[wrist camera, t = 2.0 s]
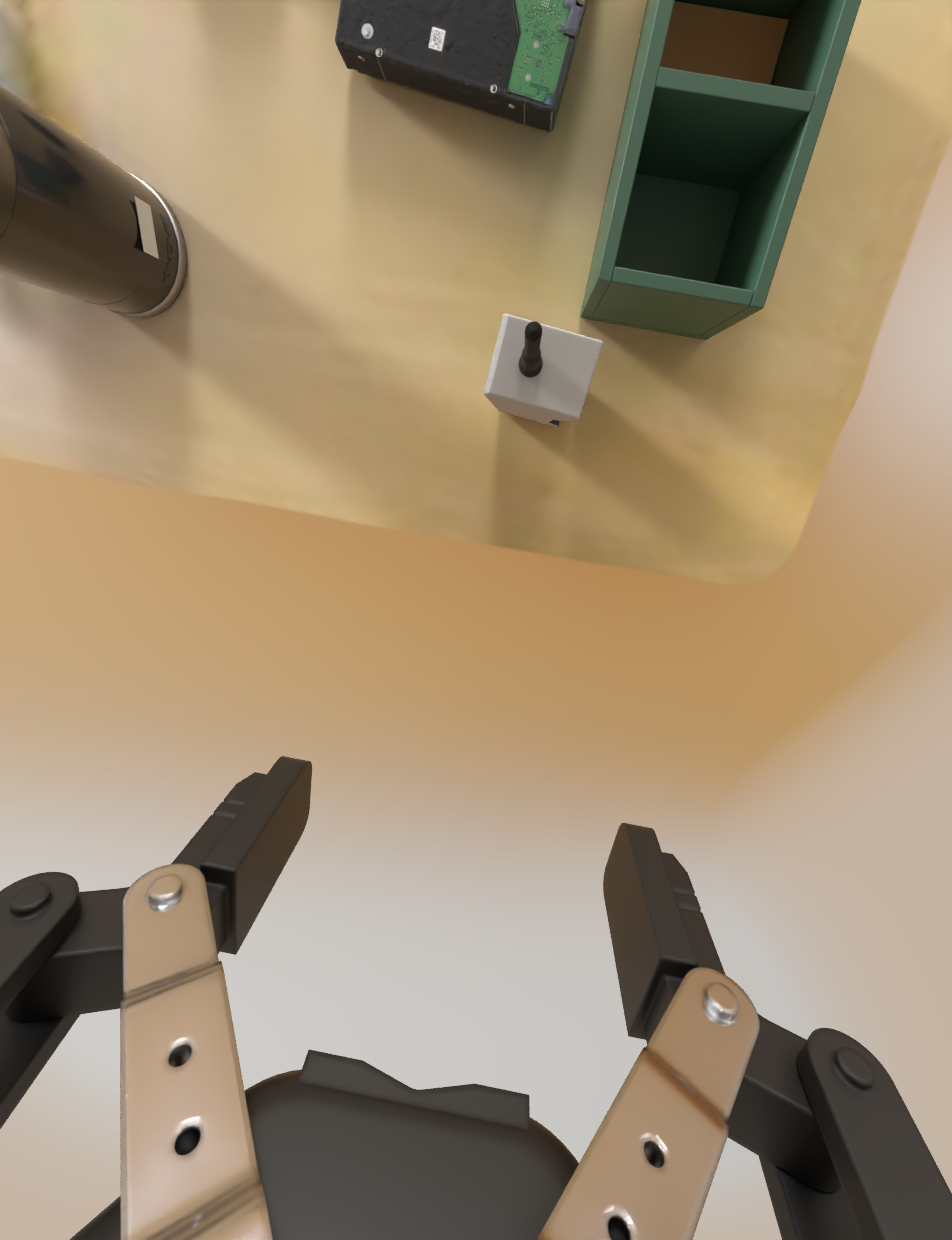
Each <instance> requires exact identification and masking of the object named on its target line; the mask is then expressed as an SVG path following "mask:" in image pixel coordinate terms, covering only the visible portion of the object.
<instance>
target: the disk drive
mask: <svg viewBox="0 0 952 1240" xmlns="http://www.w3.org/2000/svg"><path fill="white" fill-rule="evenodd" d="M587 1H588V0H341V2H340V9H339V17H338V24H337V30H336V37H335V43H336V45H337V47H338V50H339V52H340V54H341V56H342V58H343V60H344V62H345V65H346V67H347V68H348V69H354V70H357V71H358V72H359V73H362V74H366V75H368V76H372V77H375V78H378V79H381V80H384V81H388V82H391V83H394V84H397V85H400V86H403V87H406V88H410V89H413V90H417V91H419V92H423V93H425V94H429V95H432V96H435V97H439V98H442V99H445V100H449V101H454V102H456V103H460V104H462V105H464V106H467V107H470V108H473V109H476V110H480V111H483V112H486V113H489V114H492V115H495V116H499V117H502V118H505V119H508V120H511V121H514V122H517V123H521V124H524V125H527V126H531V127H536V128H538V129H543V130H546V131H548V132H551V131H552V130H553V128H554V124H555V120H556V116H557V112H558V108H559V104H560V101H561V97H562V94H563V90H564V86H565V83H566V79H567V75H568V72H569V68H570V64H571V61H572V57H573V53H574V49H575V45H576V42H577V38H578V34H579V31H580V27H581V24H582V20H583V16H584V12H585V9H586V5H587Z"/></svg>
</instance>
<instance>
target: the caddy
mask: <svg viewBox="0 0 952 1240" xmlns="http://www.w3.org/2000/svg"><path fill="white" fill-rule="evenodd" d="M860 3H861V0H648V1H647V5H646V10H645V15H644V20H643V24H642V29H641V34H640V38H639V43H638V48H637V52H636V57H635V62H634V67H633V71H632V76H631V81H630V85H629V90H628V95H627V99H626V104H625V109H624V114H623V118H622V123H621V128H620V132H619V137H618V142H617V146H616V151H615V156H614V161H613V165H612V170H611V175H610V179H609V184H608V189H607V193H606V198H605V203H604V208H603V212H602V217H601V222H600V226H599V231H598V236H597V240H596V245H595V250H594V254H593V259H592V264H591V269H590V273H589V278H588V283H587V287H586V292H585V297H584V301H583V306H582V311H581V316H580V317H581V318H586V319H592V320H597V321H603V322H609V323H614V324H620V325H626V326H631V327H637V328H642V329H648V330H654V331H659V332H665V333H670V334H676V335H682V336H687V337H693V338H699V339H704V340H707V339H708V338H710V337H712V336H714V335H716V334H717V333H719V332H721V331H723V330H725V329H726V328H728V327H730V326H732V325H734V324H736V323H737V322H739V321H741V320H743V319H745V318H746V317H748V316H750V315H752V314H754V313H755V312H757V311H759V310H761V309H763V307H764V304H765V301H766V298H767V295H768V292H769V289H770V285H771V282H772V279H773V276H774V273H775V270H776V267H777V263H778V260H779V257H780V254H781V251H782V248H783V245H784V241H785V238H786V235H787V232H788V229H789V226H790V223H791V219H792V216H793V213H794V210H795V207H796V204H797V201H798V197H799V194H800V191H801V188H802V185H803V182H804V179H805V176H806V172H807V169H808V166H809V163H810V160H811V157H812V154H813V150H814V147H815V144H816V141H817V138H818V135H819V132H820V128H821V125H822V122H823V119H824V116H825V113H826V110H827V106H828V103H829V100H830V97H831V94H832V91H833V88H834V84H835V81H836V78H837V75H838V72H839V69H840V66H841V62H842V59H843V56H844V53H845V50H846V47H847V44H848V41H849V37H850V34H851V31H852V28H853V25H854V22H855V19H856V15H857V12H858V9H859V6H860Z"/></svg>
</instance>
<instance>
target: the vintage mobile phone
mask: <svg viewBox="0 0 952 1240" xmlns="http://www.w3.org/2000/svg"><path fill="white" fill-rule="evenodd" d="M602 345H603V342H602V341H601V340H598V339H594V338H591V337H587V336H584V335H580V334H577V333H573V332H570V331H566V330H562V329H559V328H555V327H552V326H548V325H545V324H541V323H538V322H534V321H531V320H527V319H524V318H520V317H517V316H513V315H510V314H506V313H504V314H503V317H502V321H501V325H500V330H499V334H498V338H497V342H496V346H495V350H494V354H493V358H492V362H491V366H490V370H489V374H488V378H487V382H486V386H485V390H484V395H485V396H486V397H487V398H488V399H489V400H490V401H491V403H492V404H493V405H494V406H495V407H496V408H497V409H498V410H499V411H501V412H504V413H508V414H511V415H515V416H518V417H522V418H526V419H529V420H533V421H536V422H540V423H543V424H547V425H550V426H554V427H559V425H560V421H577V420H578V419H579V418H580V415H581V412H582V409H583V406H584V402H585V399H586V396H587V393H588V390H589V386H590V383H591V380H592V377H593V374H594V371H595V367H596V364H597V361H598V358H599V355H600V351H601V348H602Z"/></svg>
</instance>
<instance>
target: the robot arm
mask: <svg viewBox="0 0 952 1240" xmlns="http://www.w3.org/2000/svg"><path fill="white" fill-rule="evenodd" d="M186 267H187V253H186V245H185V241H184V236H183V233H182V230H181V227H180V225H179V222H178V220H177V218H176V216H175V214H174V213H173V211H172V209H171V208H170V206H169V205H168V203H167V202H166V201H165V200H164V198H163V197H162V196H161V195H160V194H159V193H158V192H157V191H156V190H155V189H153V188H152V187H151V186H150V185H148V184H147V183H145V182H144V181H142V180H141V179H139V178H138V177H136V176H134V175H132V174H130V173H128V172H126V171H125V170H123V169H122V168H120V167H119V166H117V165H116V164H114V163H113V162H112V161H110V160H109V159H108V158H106V157H105V156H103V155H102V154H100V153H99V152H97V151H96V150H94V149H93V148H91V147H90V146H88V145H87V144H85V143H84V142H82V141H81V140H79V139H78V138H76V137H75V136H74V135H72V134H71V133H69V132H68V131H66V130H65V129H63V128H62V127H60V126H59V125H57V124H56V123H54V122H53V121H51V120H50V119H48V118H47V117H45V116H44V115H42V114H41V113H39V112H38V111H37V110H35V109H34V108H32V107H31V106H29V105H28V104H26V103H25V102H23V101H22V100H20V99H19V98H17V97H16V96H14V95H13V94H11V93H10V92H8V91H7V90H5V89H4V88H3V87H1V86H0V274H1V275H4V276H8V277H11V278H14V279H17V280H20V281H23V282H26V283H30V284H33V285H36V286H39V287H42V288H45V289H48V290H51V291H55V292H58V293H61V294H64V295H67V296H70V297H73V298H77V299H80V300H83V301H85V302H88V303H92V304H95V305H98V306H101V307H104V308H107V309H109V310H111V311H113V312H116V313H119V314H122V315H125V316H129V317H135V318H145V317H150V316H154V315H157V314H159V313H161V312H163V311H164V310H165V309H167V308H168V307H169V306H170V305H171V304H172V303H173V302H174V301H175V299H176V298H177V296H178V294H179V293H180V291H181V288H182V286H183V283H184V279H185V275H186ZM311 776H312V764H311V762H310V761H305V760H300V759H294V758H289V757H284V756H282V757H280V758H279V759H278V760H277V762H276V763H275V764H274V766H273V767H272V768H271V770H270V771H269V772H268V774H267V775H266V774H261V773H256V772H255V773H253V774H252V775H250V776H249V777H247V778H245V779H244V780H242V781H241V782H239V783H237V784H236V785H235V787H234V788H233V789H232V790H231V791H230V793H229V794H228V795H227V796H226V798H225V799H224V802H222V803H221V804H220V805H219V806H218V807H217V809H216V810H215V811H214V814H213V815H211V816H210V817H209V818H208V820H207V821H206V822H205V823H204V825H203V826H202V827H201V828H200V830H199V831H198V832H197V833H196V835H195V836H194V837H193V838H192V839H191V841H190V842H189V843H188V844H187V845H186V847H185V848H184V849H183V850H182V852H181V853H180V854H179V855H178V857H177V858H176V859H175V860H174V861H173V863H172V864H170V865H165V866H162V867H159V868H156V869H154V870H151V871H149V872H148V873H146V874H144V875H143V876H141V877H140V878H139V879H138V880H136V881H135V882H134V883H133V884H132V885H131V887H127V888H120V889H110V890H100V891H99V890H98V891H87V892H79V887H78V883H77V881H76V880H75V879H74V878H73V877H72V876H70V875H68V874H65V873H61V872H46V873H40V874H36V875H32V876H29V877H26V878H24V879H21V880H19V881H17V882H15V883H13V884H11V885H9V886H8V887H6V888H4V889H3V890H2V891H0V1129H1V1127H2V1126H3V1124H4V1123H5V1122H6V1120H7V1119H8V1117H9V1116H10V1114H11V1113H12V1111H13V1110H14V1109H15V1107H16V1106H17V1104H18V1103H19V1102H20V1100H21V1099H22V1097H23V1096H24V1094H25V1093H26V1091H27V1090H28V1089H29V1087H30V1086H31V1084H32V1083H33V1081H34V1080H35V1079H36V1077H37V1076H38V1074H39V1073H40V1071H41V1070H42V1069H43V1067H44V1066H45V1064H46V1063H47V1061H48V1060H49V1058H50V1057H51V1055H52V1054H53V1053H54V1051H55V1050H56V1048H57V1047H58V1045H59V1044H60V1043H61V1041H62V1040H63V1038H64V1037H65V1036H66V1034H67V1033H68V1031H69V1030H70V1028H71V1027H72V1025H73V1024H74V1023H75V1021H76V1020H77V1018H78V1017H79V1015H80V1014H85V1013H92V1012H98V1011H104V1010H112V1009H119V1008H120V1034H121V1035H120V1037H121V1038H120V1041H121V1042H120V1044H121V1046H120V1049H121V1051H120V1059H121V1061H120V1070H121V1071H120V1072H121V1074H120V1077H121V1079H120V1081H121V1082H120V1086H121V1087H120V1088H121V1196H120V1197H118V1198H117V1199H116V1200H115V1201H114V1202H113V1203H112V1204H110V1205H109V1206H108V1207H107V1208H106V1209H105V1210H103V1211H102V1212H101V1213H100V1214H99V1215H98V1216H97V1217H95V1218H94V1219H93V1220H92V1221H91V1222H90V1223H88V1224H87V1225H86V1226H85V1227H84V1228H83V1229H81V1230H80V1231H79V1232H78V1233H77V1234H76V1235H75V1236H73V1237H72V1238H71V1239H70V1240H692V1239H693V1236H694V1233H695V1230H696V1227H697V1224H698V1221H699V1218H700V1215H701V1213H702V1209H703V1207H704V1204H705V1201H706V1198H707V1195H708V1192H709V1189H710V1186H711V1183H712V1180H713V1178H714V1174H715V1172H716V1169H717V1165H718V1163H719V1160H720V1157H721V1154H722V1151H723V1148H724V1145H725V1142H726V1139H727V1137H728V1138H730V1139H732V1140H733V1141H735V1142H737V1143H738V1144H740V1145H742V1146H744V1147H745V1148H747V1149H749V1150H750V1151H752V1152H754V1153H755V1154H757V1155H759V1159H760V1162H761V1166H762V1169H763V1173H764V1177H765V1180H766V1183H767V1187H768V1191H769V1194H770V1197H771V1201H772V1205H773V1208H774V1212H775V1216H776V1219H777V1223H778V1226H779V1229H780V1233H781V1237H782V1240H952V1193H951V1192H950V1190H949V1188H948V1186H947V1184H946V1182H945V1180H944V1178H943V1176H942V1174H941V1172H940V1170H939V1168H938V1167H937V1165H936V1163H935V1161H934V1159H933V1157H932V1155H931V1153H930V1151H929V1149H928V1147H927V1146H926V1144H925V1142H924V1140H923V1138H922V1136H921V1134H920V1132H919V1130H918V1128H917V1127H916V1124H915V1123H914V1121H913V1119H912V1117H911V1115H910V1113H909V1111H908V1109H907V1107H906V1105H905V1103H904V1102H903V1100H902V1098H901V1096H900V1094H899V1092H898V1090H897V1088H896V1086H895V1084H894V1082H893V1081H892V1079H891V1077H890V1076H889V1074H888V1073H887V1071H886V1070H885V1068H884V1067H883V1066H882V1064H881V1063H880V1062H879V1061H878V1060H877V1059H876V1057H874V1055H873V1054H872V1053H871V1052H869V1051H868V1050H867V1049H866V1048H865V1047H864V1046H862V1045H861V1044H860V1043H859V1042H857V1041H856V1040H854V1039H853V1038H851V1037H850V1036H848V1035H846V1034H844V1033H842V1032H840V1031H837V1030H834V1029H829V1028H819V1029H816V1030H815V1031H813V1032H812V1033H811V1035H810V1036H809V1038H808V1039H807V1040H806V1039H803V1038H802V1037H800V1036H798V1035H796V1034H794V1033H792V1032H790V1031H788V1030H786V1029H784V1028H782V1027H780V1026H778V1025H776V1024H774V1023H772V1022H770V1021H768V1020H767V1019H765V1018H763V1017H762V1016H761V1015H759V1014H758V1013H757V1011H756V1009H755V1007H754V1005H753V1003H752V1001H751V1000H750V998H749V997H748V995H747V994H746V993H745V992H744V990H743V989H742V988H741V987H740V986H739V985H738V984H737V983H735V982H734V981H733V980H732V979H730V978H729V977H727V976H726V975H725V972H724V970H723V967H722V965H721V962H720V959H719V956H718V954H717V951H716V949H715V946H714V943H713V940H712V938H711V935H710V932H709V929H708V927H707V924H706V921H705V919H704V916H703V913H701V912H700V909H701V908H700V906H699V903H698V900H697V897H696V896H695V895H694V893H695V892H694V889H693V887H692V884H691V881H690V878H689V876H688V873H687V872H686V871H685V869H684V868H683V867H682V865H681V864H680V863H679V862H678V860H677V859H676V858H675V857H674V855H673V854H668V853H663V852H661V849H660V846H659V843H658V840H657V837H656V834H655V831H654V830H653V829H652V828H647V827H642V826H636V825H632V824H626V823H622V824H621V825H620V827H619V829H618V832H617V835H616V838H615V841H614V844H613V847H612V850H611V853H610V856H609V859H608V862H607V865H606V868H605V873H604V882H603V889H604V890H603V891H604V899H605V905H606V910H607V915H608V921H609V927H610V933H611V939H612V945H613V951H614V956H615V962H616V968H617V974H618V979H619V985H620V991H621V997H622V1002H623V1008H624V1014H625V1019H626V1025H627V1031H628V1036H631V1037H635V1038H640V1039H645V1040H646V1041H647V1046H646V1048H645V1047H644V1048H643V1050H642V1051H641V1053H640V1055H639V1057H638V1058H637V1060H636V1062H635V1063H634V1065H633V1067H632V1069H631V1071H630V1073H629V1074H628V1076H627V1078H626V1080H625V1082H624V1083H623V1085H622V1087H621V1089H620V1091H619V1093H618V1094H617V1096H616V1098H615V1100H614V1101H613V1103H612V1105H611V1107H610V1109H609V1110H608V1112H607V1114H606V1116H605V1118H604V1120H603V1121H602V1123H601V1125H600V1127H599V1129H598V1130H597V1132H596V1134H595V1136H594V1138H593V1139H592V1141H591V1143H590V1145H589V1147H588V1148H587V1150H586V1152H585V1154H584V1156H583V1157H582V1159H581V1161H580V1163H578V1162H577V1160H576V1159H575V1157H574V1156H573V1155H572V1154H571V1152H570V1151H569V1150H568V1149H567V1148H566V1146H565V1145H564V1144H563V1143H562V1142H561V1141H560V1140H559V1139H558V1138H557V1137H556V1136H555V1135H553V1134H552V1133H551V1132H550V1131H549V1130H548V1129H546V1128H545V1127H544V1126H542V1125H541V1124H540V1123H538V1122H537V1121H535V1120H533V1119H532V1118H530V1117H529V1095H526V1094H522V1093H517V1092H512V1091H507V1090H502V1089H497V1088H493V1087H487V1086H483V1085H478V1084H468V1085H461V1086H451V1087H443V1088H433V1089H425V1090H416V1089H412V1088H410V1087H408V1086H407V1085H405V1084H403V1083H401V1082H399V1081H397V1080H396V1079H394V1078H392V1077H391V1076H389V1075H387V1074H385V1073H383V1072H382V1071H380V1070H378V1069H376V1068H374V1067H373V1066H371V1065H369V1064H367V1063H366V1062H364V1061H362V1060H357V1059H352V1058H347V1057H342V1056H337V1055H332V1054H328V1053H323V1052H318V1051H313V1050H309V1051H308V1054H307V1056H306V1060H305V1062H304V1065H303V1068H302V1070H295V1071H290V1072H286V1073H282V1074H278V1075H275V1076H273V1077H270V1078H268V1079H265V1080H263V1081H261V1082H259V1083H257V1084H255V1085H254V1086H252V1087H250V1088H248V1089H247V1090H245V1091H244V1086H243V1080H242V1075H241V1069H240V1063H239V1057H238V1051H237V1045H236V1040H235V1034H234V1029H233V1022H232V1017H231V1010H230V1005H229V999H228V993H227V987H226V982H225V975H224V970H223V966H222V963H221V961H219V960H218V953H219V951H220V952H226V953H230V954H237V952H238V950H239V948H240V946H241V945H242V943H243V941H244V939H245V937H246V936H247V934H248V932H249V930H250V928H251V926H252V925H253V923H254V921H255V919H256V917H257V915H258V914H259V912H260V910H261V908H262V906H263V905H264V903H265V901H266V899H267V897H268V895H269V894H270V892H271V890H272V888H273V886H274V885H275V883H276V881H277V879H278V877H279V875H280V874H281V872H282V870H283V868H284V866H285V865H286V863H287V861H288V859H289V857H290V855H291V854H292V852H293V850H294V848H295V846H296V845H297V843H298V841H299V839H300V837H301V835H302V833H303V831H304V828H305V826H306V822H307V819H308V815H309V809H310V792H311Z"/></svg>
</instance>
